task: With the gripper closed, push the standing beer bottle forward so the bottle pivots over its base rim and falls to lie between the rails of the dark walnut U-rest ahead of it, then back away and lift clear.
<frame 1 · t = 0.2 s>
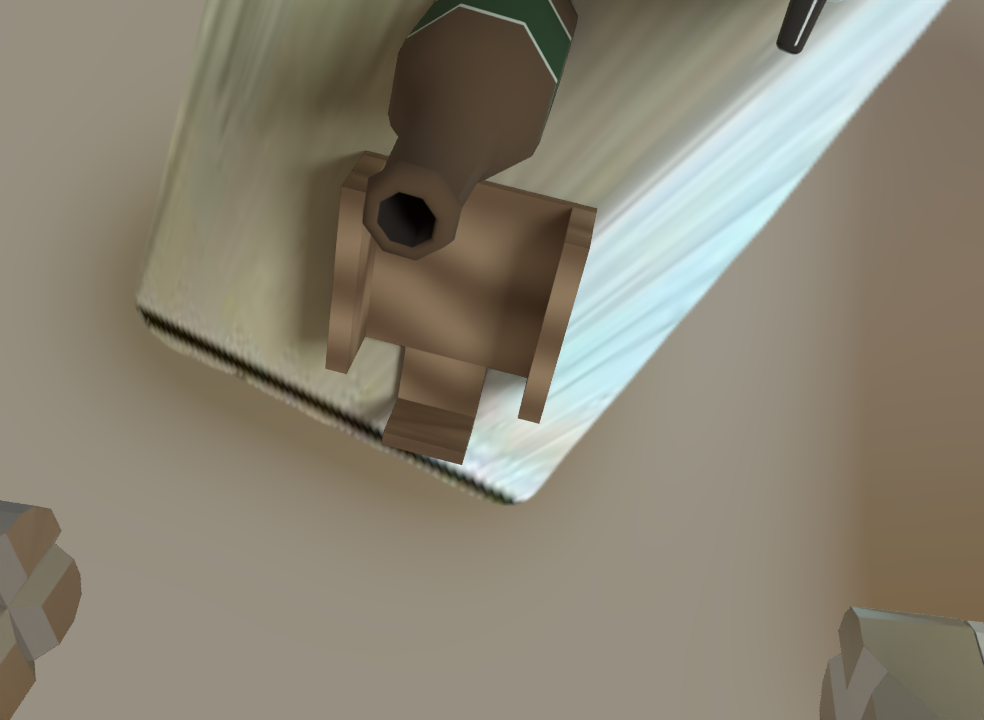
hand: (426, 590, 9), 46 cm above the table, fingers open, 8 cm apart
u rest: (463, 271, 62), on the table
beer bottle: (512, 20, 52), on the table
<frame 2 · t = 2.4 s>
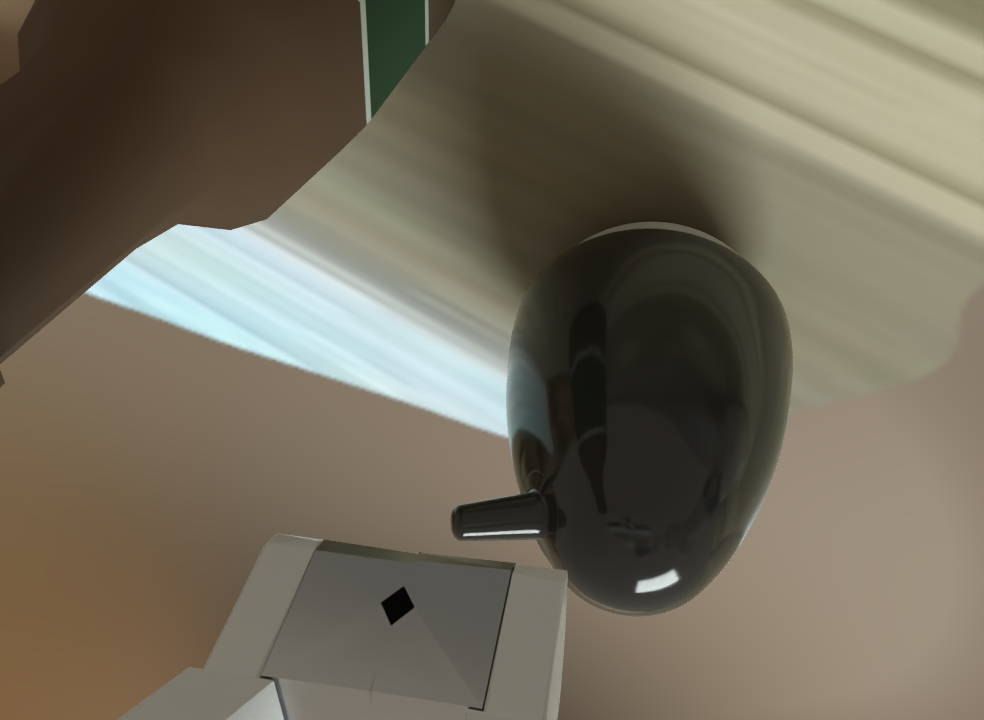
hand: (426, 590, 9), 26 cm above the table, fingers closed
dark grey oval piece: (650, 293, 38), on the table
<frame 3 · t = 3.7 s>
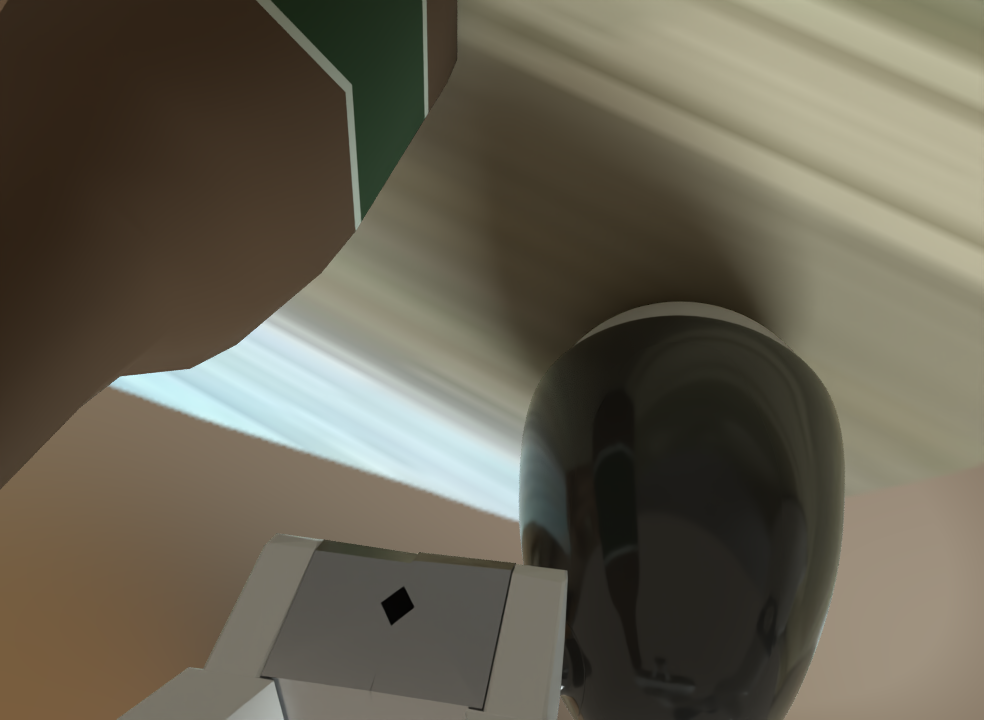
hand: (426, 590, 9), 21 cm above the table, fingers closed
dark grey oval piece: (676, 373, 34), on the table
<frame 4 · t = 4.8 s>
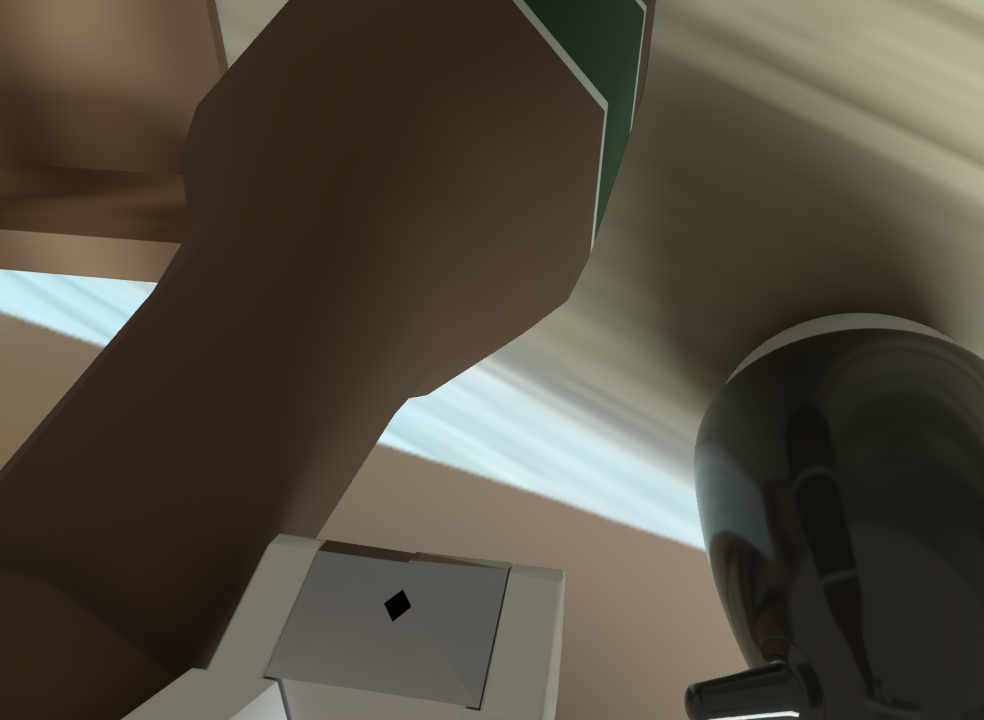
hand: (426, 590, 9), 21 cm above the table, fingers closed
dark grey oval piece: (838, 384, 33), on the table
beer bottle: (534, 0, 27), on the table, touching gripper
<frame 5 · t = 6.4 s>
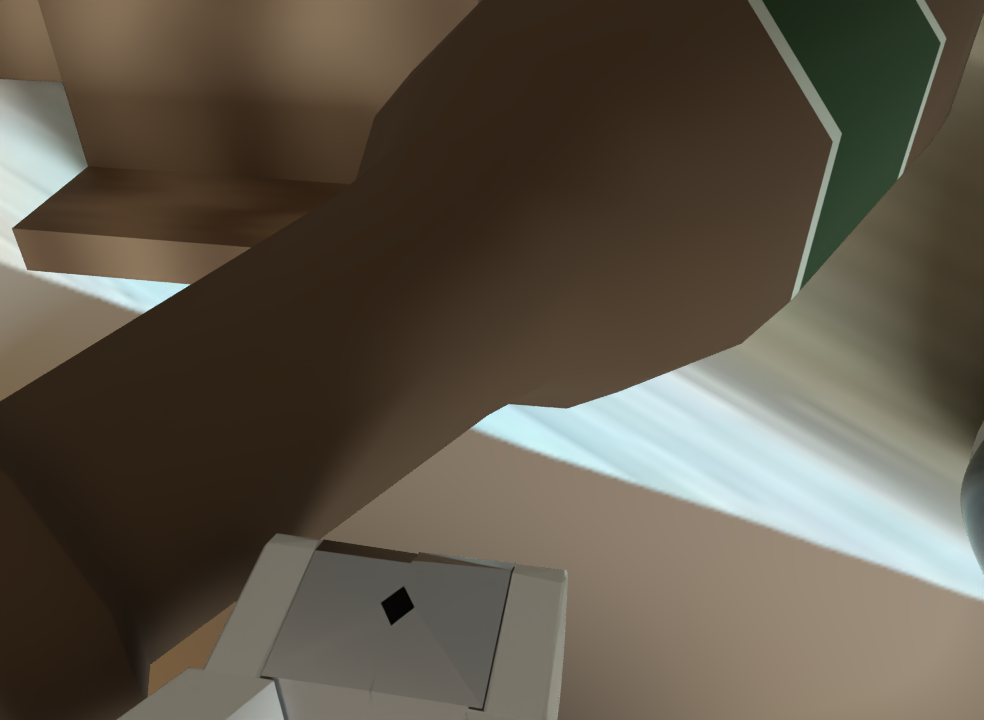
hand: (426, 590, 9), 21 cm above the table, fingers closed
beer bottle: (835, 21, 24), point 1 cm above the table
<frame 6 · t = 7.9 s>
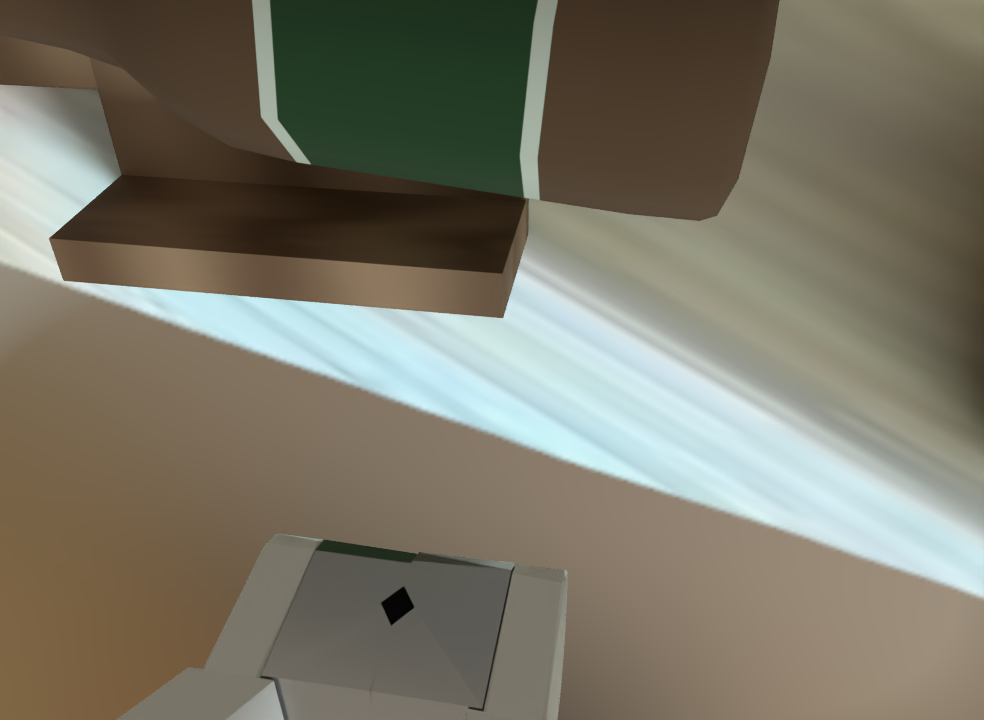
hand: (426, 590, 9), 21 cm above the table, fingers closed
beer bottle: (755, 68, 22), point 4 cm above the table, touching u rest
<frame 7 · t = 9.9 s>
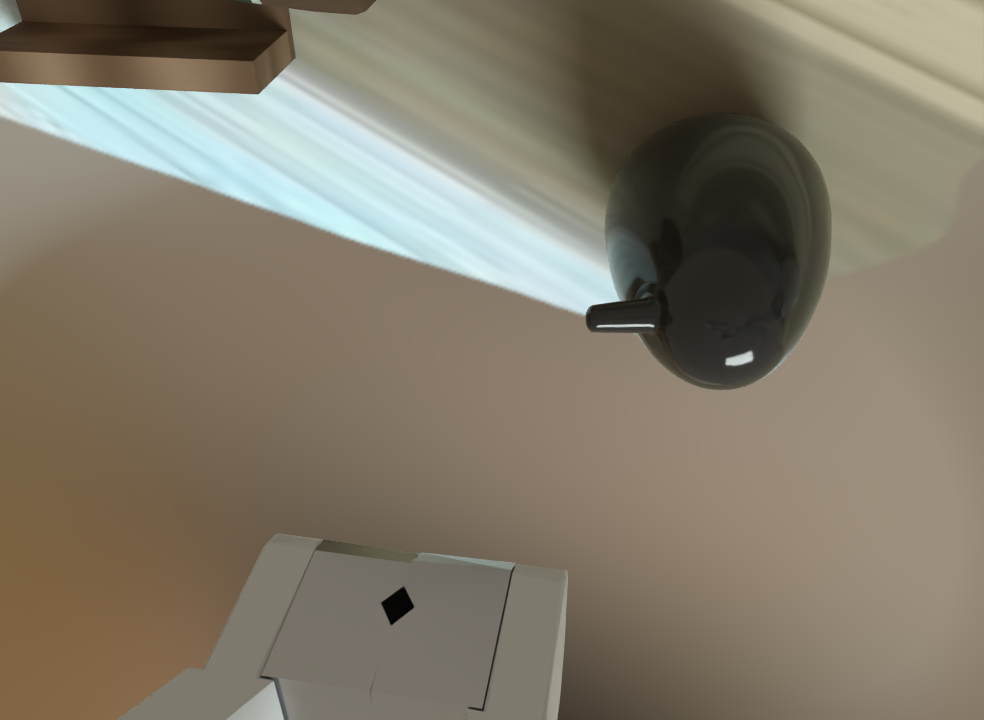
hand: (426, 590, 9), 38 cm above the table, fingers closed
dark grey oval piece: (709, 181, 47), on the table
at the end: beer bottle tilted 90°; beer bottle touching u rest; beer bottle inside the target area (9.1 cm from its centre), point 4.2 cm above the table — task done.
